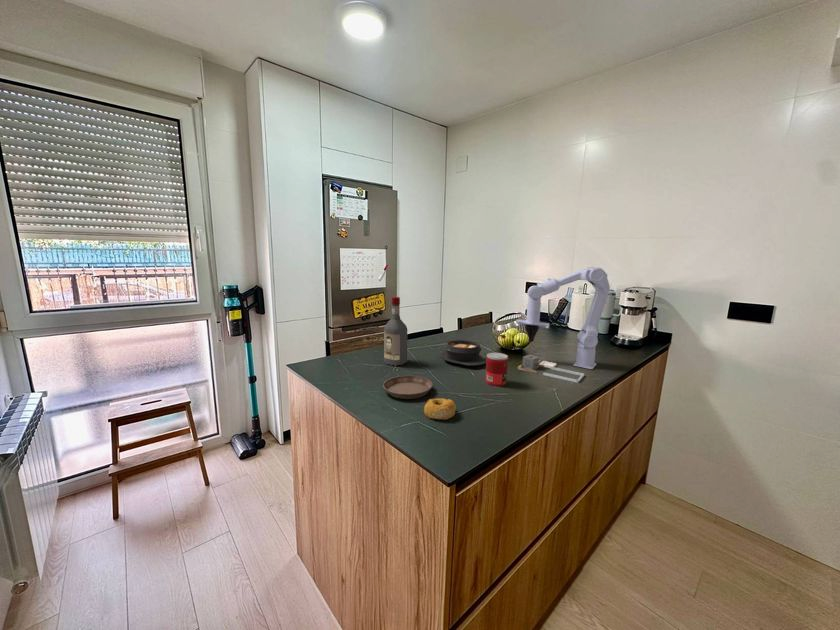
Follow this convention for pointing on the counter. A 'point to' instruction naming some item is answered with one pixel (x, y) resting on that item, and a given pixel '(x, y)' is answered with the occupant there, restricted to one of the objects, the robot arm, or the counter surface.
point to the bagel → (440, 408)
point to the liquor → (395, 337)
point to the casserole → (463, 353)
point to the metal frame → (565, 377)
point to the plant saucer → (407, 387)
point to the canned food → (496, 369)
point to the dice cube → (530, 362)
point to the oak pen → (529, 369)
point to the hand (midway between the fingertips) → (531, 341)
